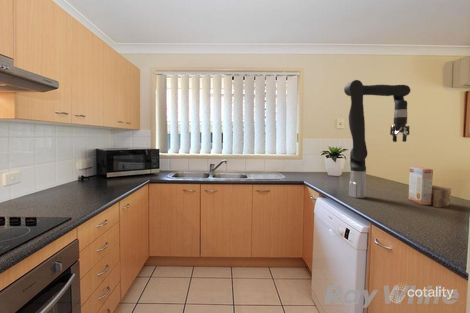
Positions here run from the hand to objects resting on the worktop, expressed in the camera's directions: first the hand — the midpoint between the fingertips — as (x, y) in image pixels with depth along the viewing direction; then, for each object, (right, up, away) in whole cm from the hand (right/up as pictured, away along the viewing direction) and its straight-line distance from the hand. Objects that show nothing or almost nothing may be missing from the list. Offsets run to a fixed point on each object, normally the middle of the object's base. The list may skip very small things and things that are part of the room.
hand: (399, 141), depth 179 cm
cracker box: (+3, -38, -15) cm, 40 cm away
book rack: (+7, -37, -15) cm, 41 cm away
